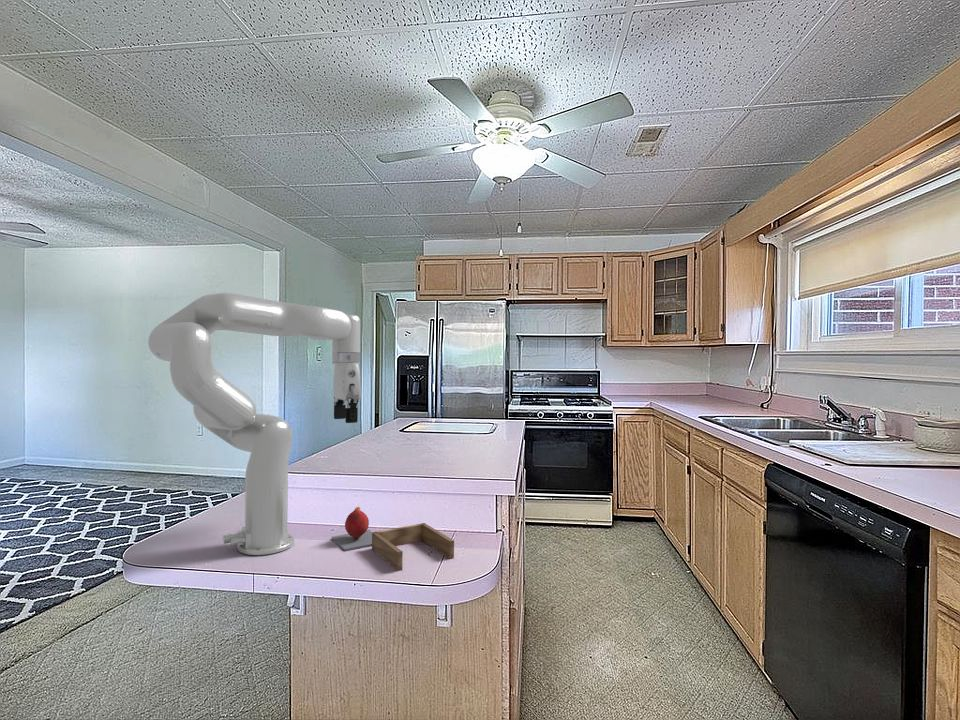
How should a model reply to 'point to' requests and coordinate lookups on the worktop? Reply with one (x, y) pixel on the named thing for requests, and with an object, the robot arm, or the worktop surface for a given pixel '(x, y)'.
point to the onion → (356, 523)
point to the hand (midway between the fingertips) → (345, 420)
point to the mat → (353, 541)
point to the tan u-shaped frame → (391, 538)
